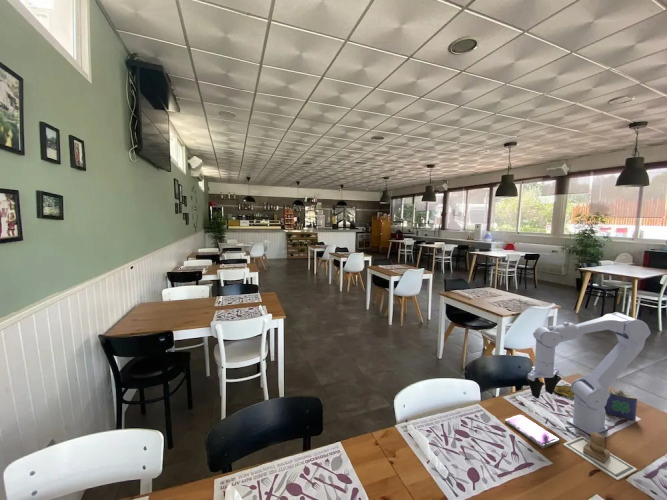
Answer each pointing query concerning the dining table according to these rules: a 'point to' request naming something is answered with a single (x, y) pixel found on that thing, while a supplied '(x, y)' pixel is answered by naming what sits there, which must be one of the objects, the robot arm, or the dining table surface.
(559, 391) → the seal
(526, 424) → the ink pad
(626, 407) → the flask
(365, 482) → the dining table surface
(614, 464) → the marked card
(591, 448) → the stamp
